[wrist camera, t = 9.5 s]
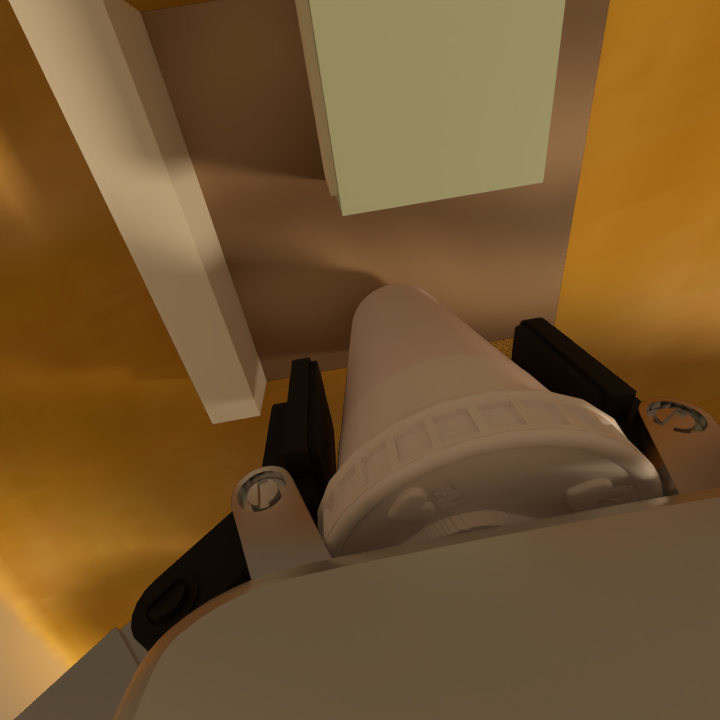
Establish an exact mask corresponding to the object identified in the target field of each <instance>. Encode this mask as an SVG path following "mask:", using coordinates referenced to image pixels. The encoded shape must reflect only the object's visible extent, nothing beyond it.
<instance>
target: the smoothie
mask: <svg viewBox="0 0 720 720" xmlns="http://www.w3.org/2000/svg"><path fill="white" fill-rule="evenodd" d="M661 497H663V489H662V483H661V480H660V477H659V474H658V472H657V471H656V469H655V468H654V466H653V464H652V463H651V462H650V461H649V460H648V459H647V458H646V457H645V456H644V455H643V454H642V453H641V452H640V451H639V450H638V449H637V448H636V447H635V446H634V445H633V444H632V443H631V442H630V441H629V440H628V439H627V438H626V436H625V435H624V433H623V432H622V430H621V429H620V427H619V426H618V424H617V423H616V421H615V420H614V418H612V417H610V416H609V415H607V414H606V413H604V412H602V411H601V410H599V409H597V408H596V407H594V406H593V405H591V404H589V403H588V402H586V401H584V400H583V399H579V398H575V397H570V396H566V395H562V394H557V393H553V392H550V391H549V390H548V389H547V388H546V387H544V386H543V385H542V384H541V383H540V382H538V381H537V380H536V379H535V378H534V377H532V376H531V375H530V374H529V373H527V372H526V371H525V370H523V369H522V368H520V367H519V366H518V365H517V364H515V363H514V362H513V361H512V360H510V359H509V358H508V357H507V356H505V355H504V354H503V353H502V352H500V351H499V350H498V349H497V348H496V347H494V346H493V345H492V344H491V343H489V342H488V341H487V340H486V339H484V338H483V337H482V336H481V335H479V334H478V333H477V332H476V331H474V330H473V329H472V328H471V327H469V326H468V325H467V324H466V323H465V322H463V321H462V320H461V319H460V318H458V317H457V316H456V315H455V314H453V313H452V312H451V311H450V310H448V309H447V308H446V307H445V306H443V305H442V304H441V303H440V302H438V301H437V300H436V299H435V298H434V297H432V296H431V295H430V294H429V293H427V292H426V291H425V290H423V289H421V288H419V287H417V286H414V285H410V284H401V283H399V284H390V285H386V286H384V287H381V288H379V289H377V290H375V291H373V292H372V293H370V294H369V295H368V296H367V297H366V298H365V299H364V300H363V301H362V302H361V303H360V305H359V306H358V308H357V310H356V311H355V314H354V317H353V321H352V329H351V339H350V348H349V358H348V368H347V378H346V388H345V397H344V407H343V417H342V427H341V437H340V442H339V452H338V465H337V472H336V473H335V475H334V476H333V477H332V478H331V479H330V481H329V483H328V485H327V488H326V491H325V493H324V496H323V498H322V501H321V503H320V506H319V508H318V511H317V517H318V532H319V534H320V536H321V538H322V540H323V542H324V544H325V546H326V548H327V550H328V552H329V554H330V556H331V558H332V559H333V558H338V557H342V556H347V555H352V554H357V553H362V552H367V551H372V550H377V549H382V548H387V547H393V546H398V545H403V544H409V543H414V542H419V541H425V540H430V539H435V538H441V537H446V536H451V535H457V534H462V533H467V532H473V531H478V530H483V529H489V528H494V527H500V526H505V525H511V524H516V523H522V522H527V521H533V520H538V519H544V518H549V517H555V516H560V515H566V514H571V513H577V512H582V511H588V510H593V509H599V508H604V507H610V506H616V505H621V504H627V503H633V502H638V501H644V500H650V499H655V498H661Z"/></svg>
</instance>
